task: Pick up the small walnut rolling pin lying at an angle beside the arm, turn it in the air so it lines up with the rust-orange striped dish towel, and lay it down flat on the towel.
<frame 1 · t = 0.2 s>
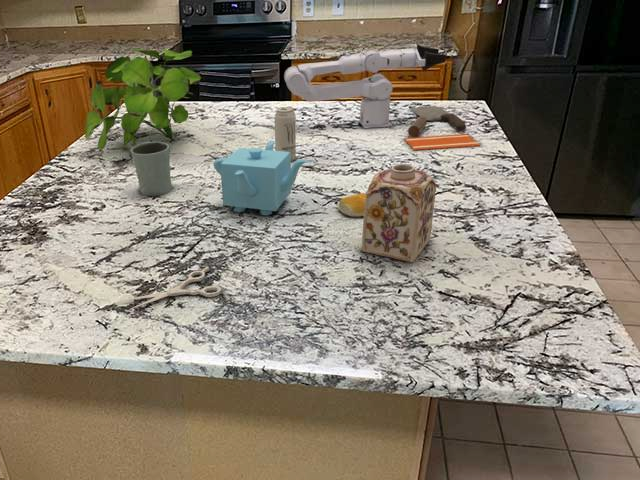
hand: (441, 55, 196), 21 cm above the countertop, tool horizontal, fingers open, 7 cm apart
grey cup: (155, 190, 167), on the countertop
indoor plant: (149, 144, 203), on the countertop
scissors: (172, 294, 120), on the countertop
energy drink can: (285, 160, 182), on the countertop
teakettle: (261, 206, 154), on the countertop
bread roll: (357, 211, 149), on the countertop
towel: (441, 142, 188), on the countertop
rolling pin: (417, 126, 197), point 2 cm above the countertop, tilted 6°
cleaver: (439, 120, 208), on the countertop
decorative jar: (395, 247, 132), on the countertop
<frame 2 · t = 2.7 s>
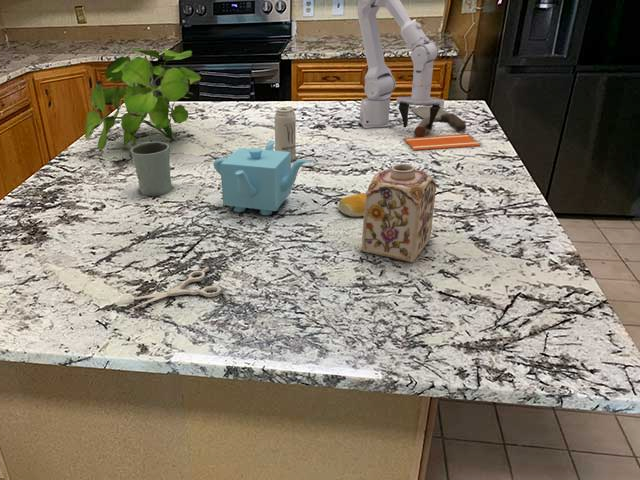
hand: (417, 127, 197), 1 cm above the countertop, tool pointing down, fingers open, 7 cm apart
rolling pin: (423, 127, 196), point 2 cm above the countertop, tilted 79°, touching gripper
everything else where it was.
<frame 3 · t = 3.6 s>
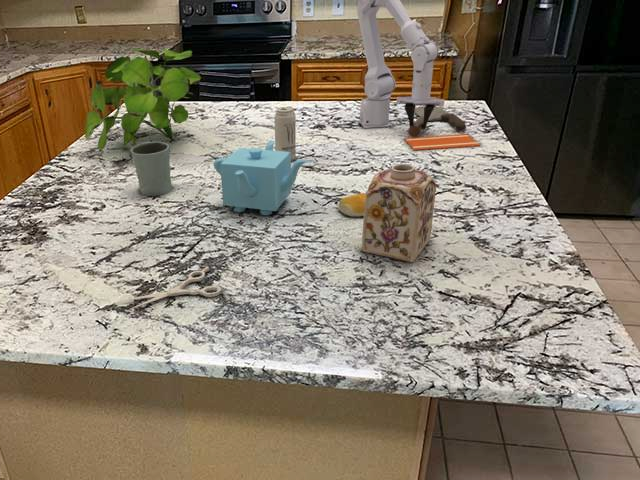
hand: (417, 127, 197), 2 cm above the countertop, tool pointing down, fingers closed on rolling pin, 3 cm apart
rolling pin: (418, 126, 197), point 2 cm above the countertop, tilted 49°, touching gripper
everything else where it was.
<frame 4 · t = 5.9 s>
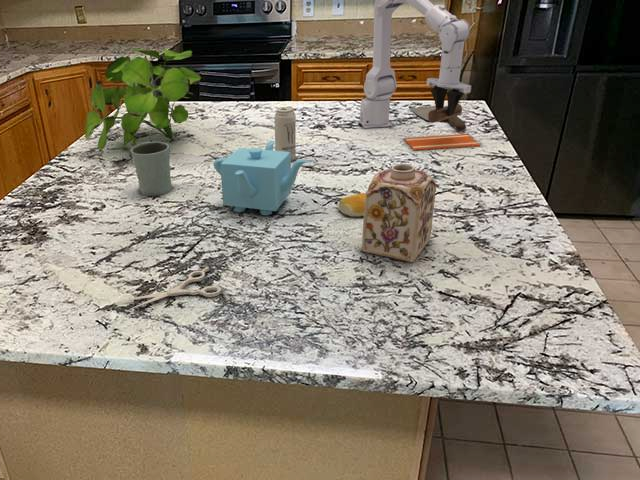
hand: (444, 113, 183), 9 cm above the countertop, tool pointing down, fingers closed on rolling pin, 3 cm apart
rolling pin: (445, 112, 183), point 9 cm above the countertop, tilted 49°, touching gripper
everything else where it was.
when the fingers open (2 cm above the countertop, at t = 8.6 s): rolling pin stays where it is, resting on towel.
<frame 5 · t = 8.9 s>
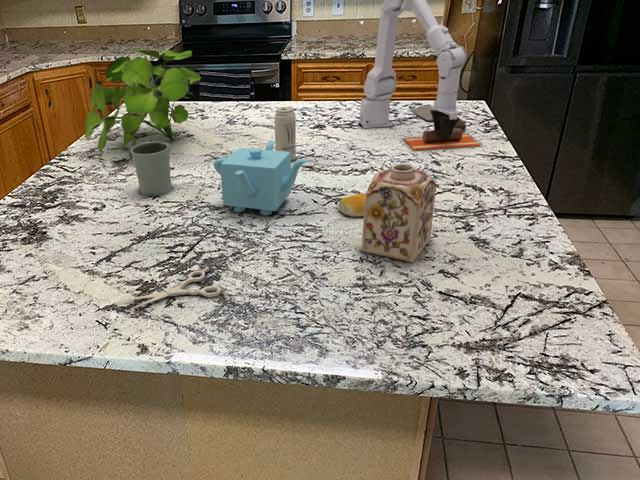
hand: (441, 136, 187), 2 cm above the countertop, tool pointing down, fingers open, 6 cm apart
rolling pin: (442, 135, 186), point 2 cm above the countertop, tilted 45°, touching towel
everything else where it was.
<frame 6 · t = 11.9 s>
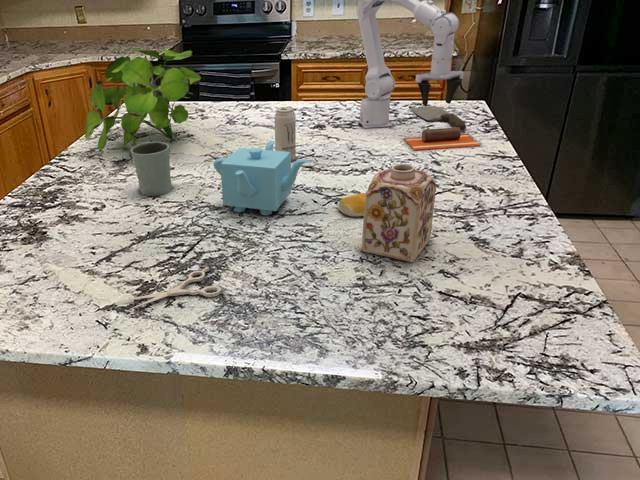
hand: (436, 103, 190), 9 cm above the countertop, tool pointing down, fingers open, 7 cm apart
rolling pin: (441, 134, 187), point 2 cm above the countertop, tilted 9°, touching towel
everything else where it was.
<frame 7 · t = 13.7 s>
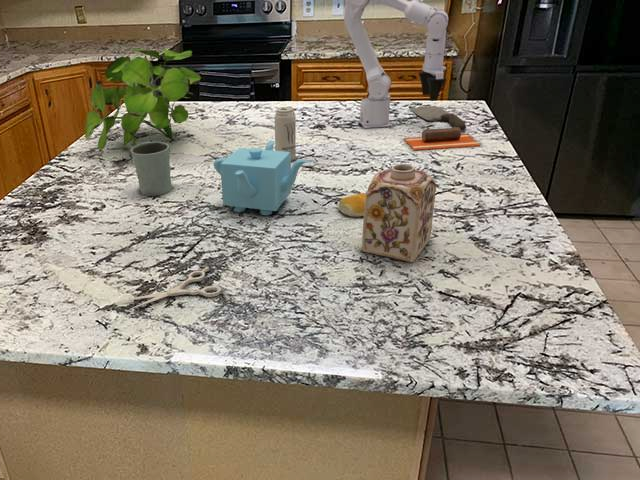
hand: (429, 97, 197), 9 cm above the countertop, tool pointing down, fingers open, 7 cm apart
nothing on the countertop moved.
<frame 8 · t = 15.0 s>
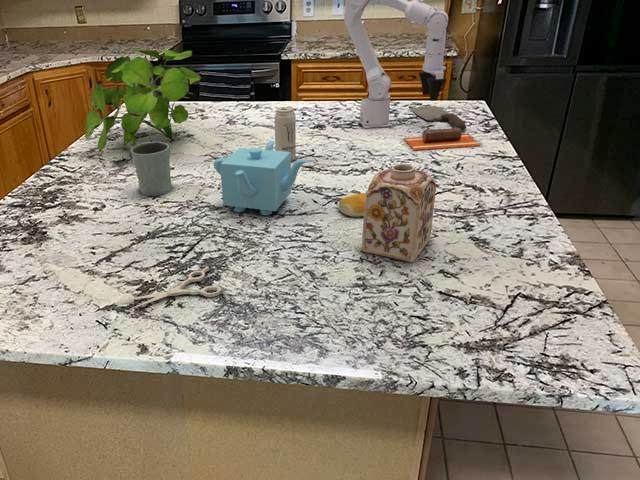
hand: (429, 97, 197), 9 cm above the countertop, tool pointing down, fingers open, 7 cm apart
rolling pin: (441, 135, 187), point 2 cm above the countertop, tilted 30°, touching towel
everything else where it was.
at the end: rolling pin inside the target area on the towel (0.5 cm from its centre), point 2.2 cm above the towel's base; rolling pin touching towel; the gripper is holding nothing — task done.
